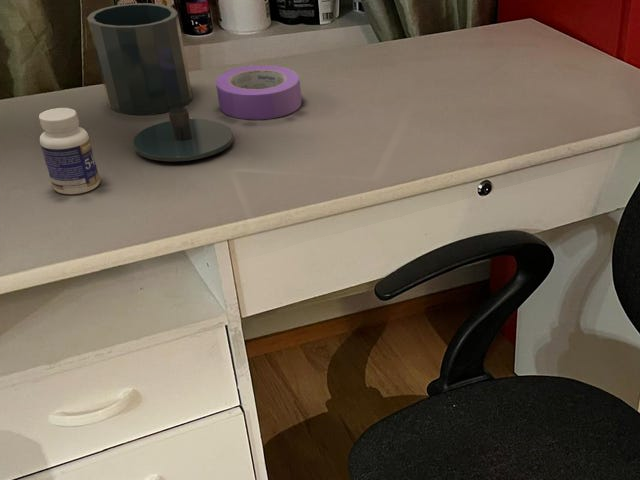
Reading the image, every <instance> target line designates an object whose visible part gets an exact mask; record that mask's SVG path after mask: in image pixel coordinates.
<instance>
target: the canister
mask: <svg viewBox="0 0 640 480" xmlns="http://www.w3.org/2000/svg"><path fill="white" fill-rule="evenodd" d="M86 19H87V24H88V28H89V31H90V36H91V40H92V44H93V49H94V53H95V57H96V60H97V65H98V69H99V73H100V77H101V82H102V87H103V90H104V94H105V98H106V101H107V103H108V106H109V108H110V109H111V110H112V111H115V112H117V113H120V114H124V115H134V116H149V115H150V116H152V115H158V114H159V115H160V114H164V113H169V111H170V110H171V109H174V108H184V107H185V106H187V105H188V104H189V103H190V102H191V101H192V98H193V92H192V86H191V79H190V74H189V67H188V63H187V58H186V51H185V46H184V40H183V35H182V29H181V24H180V23H181V22H180V19H179V12H178V11H177V10H176V9H175V8H173V7H171V6H167V5H165V4H161V3H159V4H158V3H150V2H149V3H148V2H147V3H146V2H143V3H142V2H139V3H137V2H136V3H135V2H134V3H133V2H132V3H124V4H118V5H117V4H116V5H110V6H107V7H102V8H99V9H97V10H94V11H92V12H91V13H90V14H89V15H87V18H86Z"/></svg>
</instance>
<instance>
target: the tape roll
mask: <svg viewBox="0 0 640 480" xmlns="http://www.w3.org/2000/svg"><path fill="white" fill-rule="evenodd" d="M215 86H216V91H217V98H218V105H219V109H220V111H221V112H222V113H223V114H225V115H227V116H229V117H232V118H236V119H241V120H250V121H251V120H253V121H256V120H257V121H262V120H263V121H264V120H270V119H271V120H272V119H276V118H281V117H285V116H287V115H290V114H292V113H294V112H296V111H298V110H299V109H300V108H301V106H302V103H303V101H302V92H301V82H300V76H299V74H298V73H297V72H295V71H294V70H292V69H290V68H287V67H284V66H279V65H270V64H269V65H267V64H266V65H265V64H262V65H259V64H257V65H247V66H240V67H236V68H234V69H230V70H228V71H227V70H226V71H225V72H223V73H222V74H220V75H219V76H218V77H217V78H216V80H215Z"/></svg>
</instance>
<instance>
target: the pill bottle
mask: <svg viewBox="0 0 640 480" xmlns="http://www.w3.org/2000/svg"><path fill="white" fill-rule="evenodd" d="M38 120H39V123H40V126H41V129H42V130H43V132H42V133H41V135H40V136H39V143H40V148H41V151H42V154H43V158H44V160H45V164H46V168H47V171H48V174H49V178H50V182H51V185H52V188H53V189H54V191H55V192H57V193H60V194H63V195H79V194H85V193H87V192H90V191H93V190H94V189H96V188H98V186H99V184H100V182H101V179H100V175H99V171H98V166H97V164H96V160H95V155H94V152H93V148H92V145H91V139H90V137H89V134H88V132H87V131H86V129H85V128H84V127H81V126H79V125H80V119H79V117H78V113H77V111H76V110H75V109H74V108H70V107H56V108H50V109H47V110H44V111H42V112H40V113H39V115H38Z"/></svg>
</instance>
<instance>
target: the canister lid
mask: <svg viewBox="0 0 640 480" xmlns="http://www.w3.org/2000/svg"><path fill="white" fill-rule="evenodd" d="M168 116H169V117H168V118H169V120H168V121H162V122H159V123H156V124H152V125H150V126H147V127H146V128H143V129H142V130H140V131H138V132H137V133H136V135H134V136H133V139H132V146H133V150H134V152H135V153H136V154H138V155H140V156H141V157H143V158H146V159H149V160H152V161H153V160H154V161H161V162H186V161H194V160H199V159H204V158H209V157H211V156H213V155H217V154H219V153H221V152H223V151H224V150H226V149H228V148H229V147H230V146H231V145H232V144H233V141H234V133H233V130H232V129H231V128H230V127H229V126H228V125H226V124H224V123H222V122H220V121H216V120H211V119H203V118H190V114H189V110H188V109H187V108H185V107H181V108H174V109H171V110H170V111H169V112H168Z"/></svg>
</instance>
